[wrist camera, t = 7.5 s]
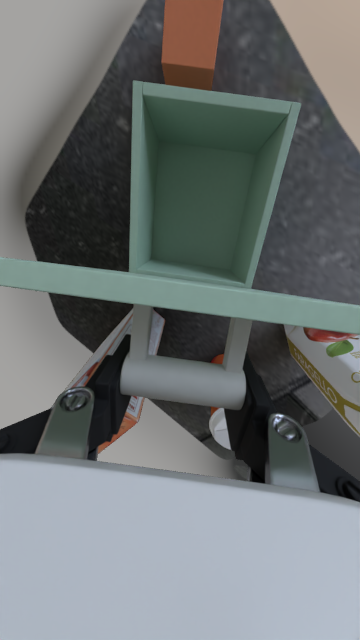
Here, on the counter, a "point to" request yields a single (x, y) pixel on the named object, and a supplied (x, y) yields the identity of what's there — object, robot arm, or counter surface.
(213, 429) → the paper cup
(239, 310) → the lid
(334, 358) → the juice carton
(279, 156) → the compartment
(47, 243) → the counter surface
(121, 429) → the cracker box
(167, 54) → the block
